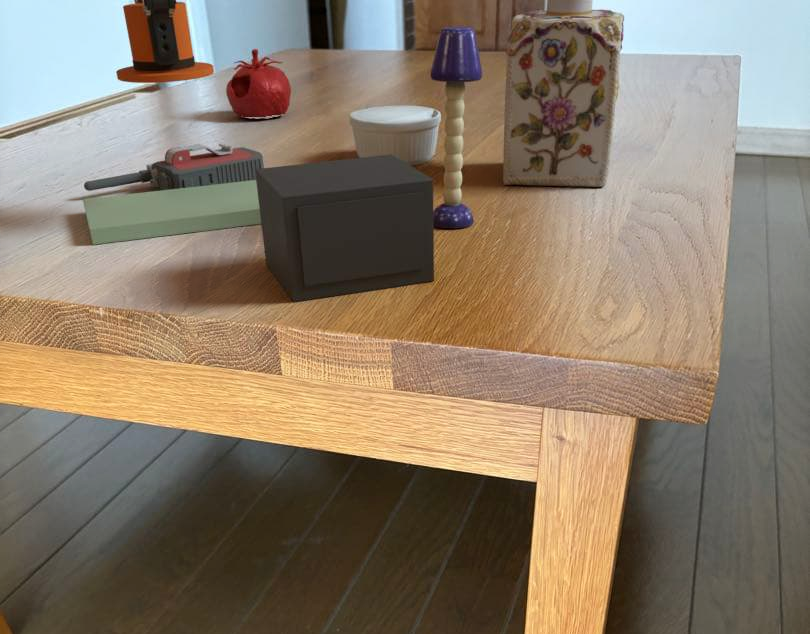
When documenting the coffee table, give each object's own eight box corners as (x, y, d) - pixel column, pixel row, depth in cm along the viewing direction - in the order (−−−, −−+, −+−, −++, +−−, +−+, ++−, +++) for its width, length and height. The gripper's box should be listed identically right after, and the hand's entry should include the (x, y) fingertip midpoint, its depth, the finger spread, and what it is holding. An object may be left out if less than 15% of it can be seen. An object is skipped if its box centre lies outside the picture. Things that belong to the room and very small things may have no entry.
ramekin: (433, 170, 105) (433, 122, 102) (342, 169, 107) (339, 121, 104) (447, 150, 114) (447, 105, 111) (362, 149, 116) (360, 105, 113)
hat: (121, 86, 79) (107, 10, 76) (113, 73, 86) (100, 4, 83) (221, 77, 81) (211, 4, 78) (205, 66, 88) (196, -2, 85)
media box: (293, 303, 70) (282, 197, 65) (266, 265, 78) (254, 169, 73) (435, 281, 73) (434, 180, 68) (394, 247, 81) (391, 154, 76)
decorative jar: (611, 163, 105) (628, -15, 95) (608, 188, 96) (628, -6, 85) (510, 162, 107) (517, -13, 97) (499, 186, 98) (505, -4, 87)
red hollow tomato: (286, 108, 142) (280, 43, 137) (299, 119, 135) (293, 49, 129) (225, 114, 140) (216, 47, 135) (235, 124, 132) (226, 54, 127)
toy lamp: (443, 214, 89) (442, 24, 80) (486, 218, 88) (491, 25, 78) (423, 227, 86) (420, 30, 76) (467, 231, 84) (470, 30, 74)
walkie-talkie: (241, 168, 109) (83, 197, 99) (236, 129, 106) (74, 155, 96) (277, 180, 103) (114, 213, 93) (273, 140, 100) (104, 169, 91)
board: (92, 245, 84) (89, 229, 83) (85, 213, 93) (82, 199, 92) (296, 219, 89) (295, 204, 88) (271, 192, 99) (269, 178, 98)
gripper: (74, -162, 78) (116, 55, 88) (82, -177, 67) (129, 73, 77) (160, -163, 80) (191, 49, 90) (182, -178, 69) (215, 66, 78)
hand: (163, 59), depth 83 cm, fingers closed on hat, 5 cm apart
